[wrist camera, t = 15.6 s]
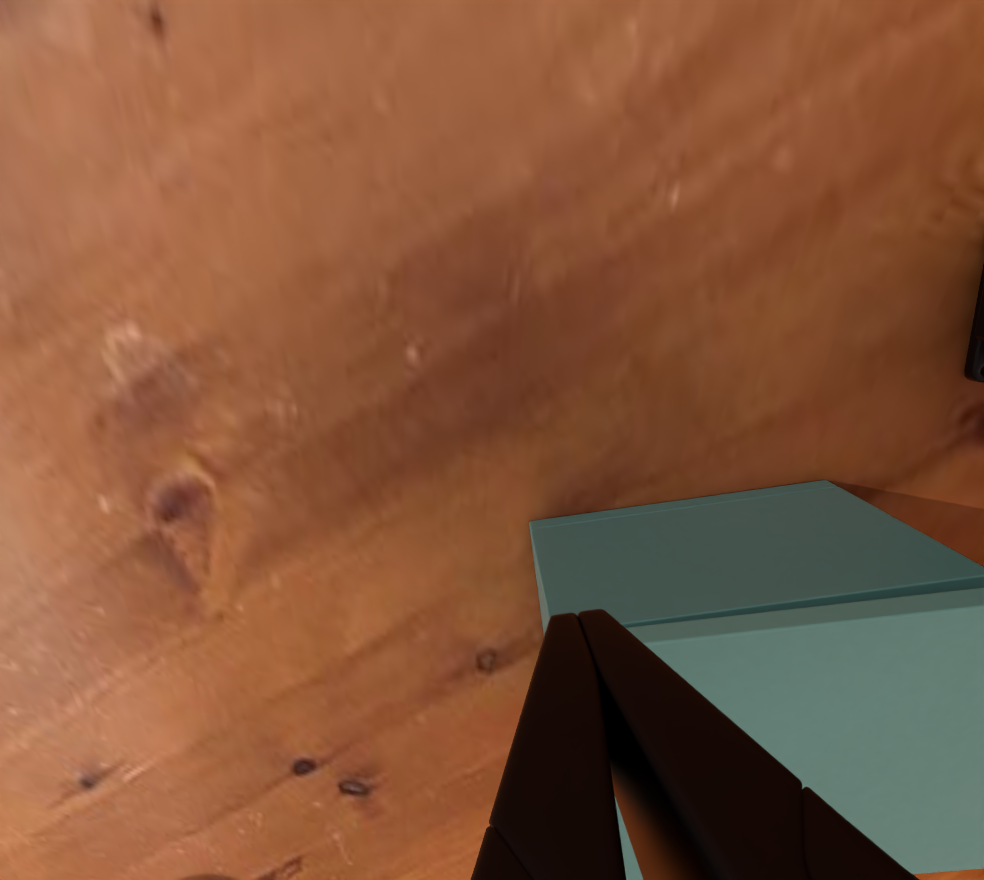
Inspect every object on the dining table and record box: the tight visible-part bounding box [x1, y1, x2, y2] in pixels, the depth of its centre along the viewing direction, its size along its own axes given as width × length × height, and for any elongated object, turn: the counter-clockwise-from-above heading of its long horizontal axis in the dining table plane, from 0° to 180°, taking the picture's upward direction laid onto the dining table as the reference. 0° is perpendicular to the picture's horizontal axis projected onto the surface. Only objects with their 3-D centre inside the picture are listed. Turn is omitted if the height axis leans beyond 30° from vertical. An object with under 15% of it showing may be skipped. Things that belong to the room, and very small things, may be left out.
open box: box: [529, 480, 984, 636], centre depth 19 cm, size 14×12×7 cm
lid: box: [615, 587, 984, 880], centre depth 15 cm, size 14×12×1 cm
